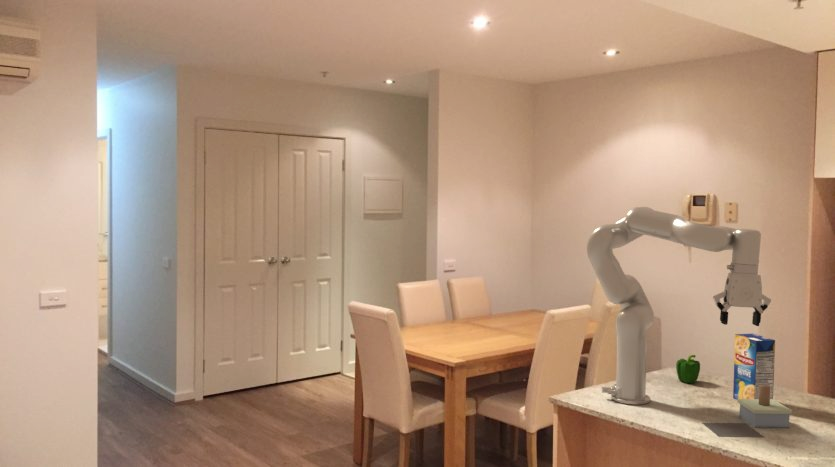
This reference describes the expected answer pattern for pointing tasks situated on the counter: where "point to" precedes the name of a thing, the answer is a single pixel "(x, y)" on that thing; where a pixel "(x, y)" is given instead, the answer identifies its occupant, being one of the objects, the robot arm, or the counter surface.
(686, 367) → the bell pepper
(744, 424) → the mat
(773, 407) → the lid
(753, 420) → the dish
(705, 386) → the counter surface
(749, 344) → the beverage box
